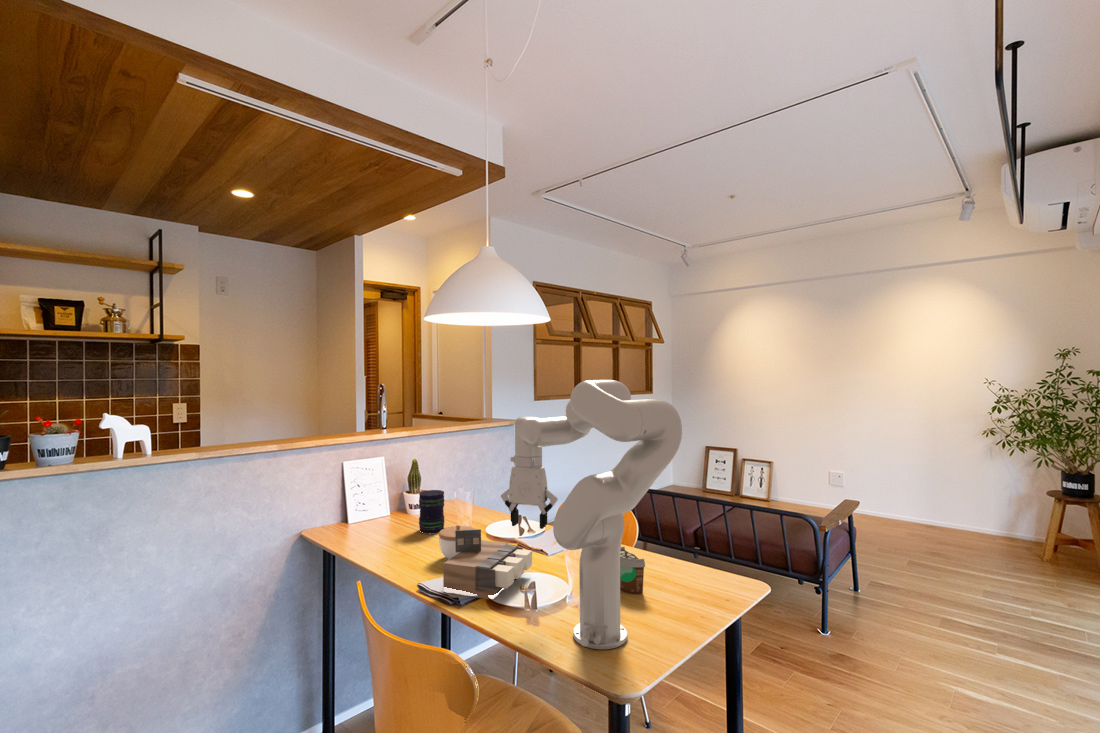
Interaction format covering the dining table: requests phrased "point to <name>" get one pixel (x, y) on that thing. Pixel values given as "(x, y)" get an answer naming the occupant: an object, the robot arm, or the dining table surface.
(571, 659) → the dining table surface
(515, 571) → the button mid
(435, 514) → the storage jar
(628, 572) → the food container
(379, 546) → the dining table surface
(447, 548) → the lidded bowl
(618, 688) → the dining table surface
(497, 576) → the button
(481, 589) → the console
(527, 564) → the button
